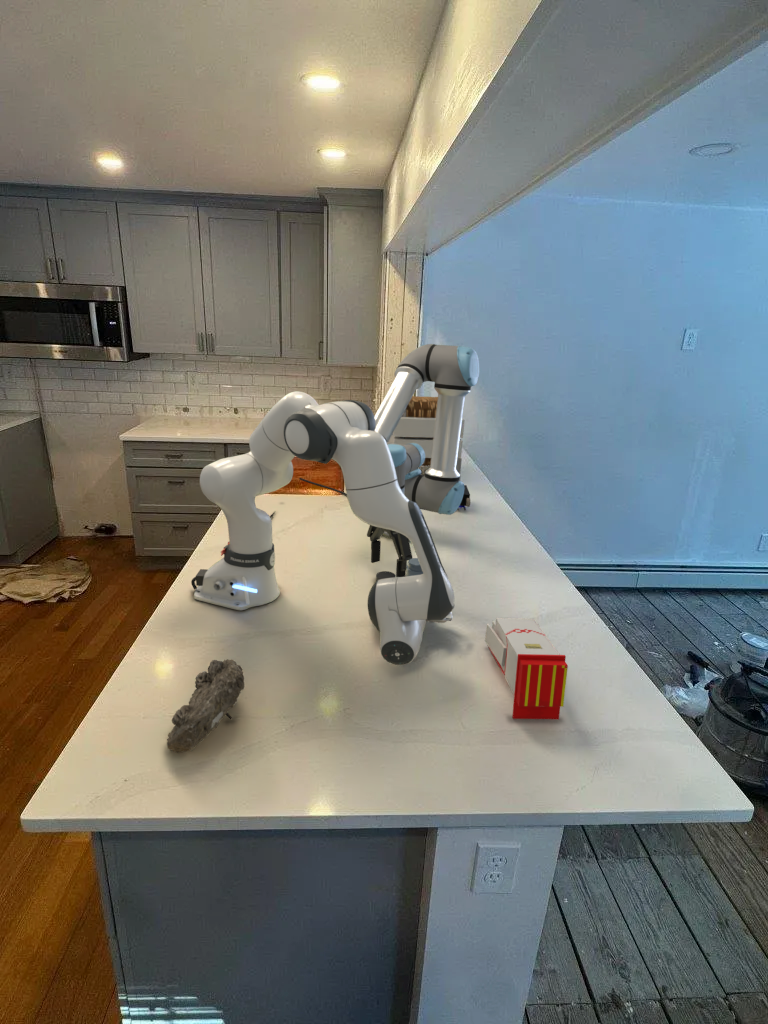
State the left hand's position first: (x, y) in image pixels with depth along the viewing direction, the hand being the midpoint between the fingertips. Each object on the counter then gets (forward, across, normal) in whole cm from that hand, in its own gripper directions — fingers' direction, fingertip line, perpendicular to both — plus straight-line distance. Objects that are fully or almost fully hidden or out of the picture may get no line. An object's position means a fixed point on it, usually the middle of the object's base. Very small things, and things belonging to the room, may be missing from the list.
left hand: (414, 589), depth 146 cm
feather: (+59, +60, +7) cm, 84 cm away
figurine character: (+90, -8, +7) cm, 90 cm away
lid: (+16, +10, +5) cm, 20 cm away
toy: (-22, -26, +7) cm, 35 cm away
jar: (-1, 0, +7) cm, 7 cm away
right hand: (+17, +10, +4) cm, 20 cm away
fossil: (-49, +32, +7) cm, 59 cm away
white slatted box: (+134, +14, +7) cm, 135 cm away
